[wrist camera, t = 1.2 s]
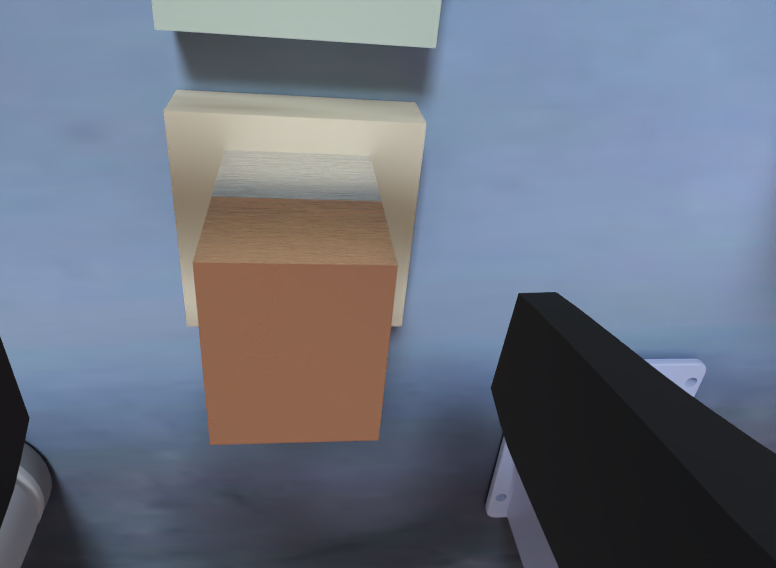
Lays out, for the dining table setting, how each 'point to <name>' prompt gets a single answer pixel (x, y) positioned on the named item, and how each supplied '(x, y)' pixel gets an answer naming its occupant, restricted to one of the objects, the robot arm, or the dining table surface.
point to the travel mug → (24, 508)
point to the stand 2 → (294, 135)
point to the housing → (294, 299)
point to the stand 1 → (307, 19)
